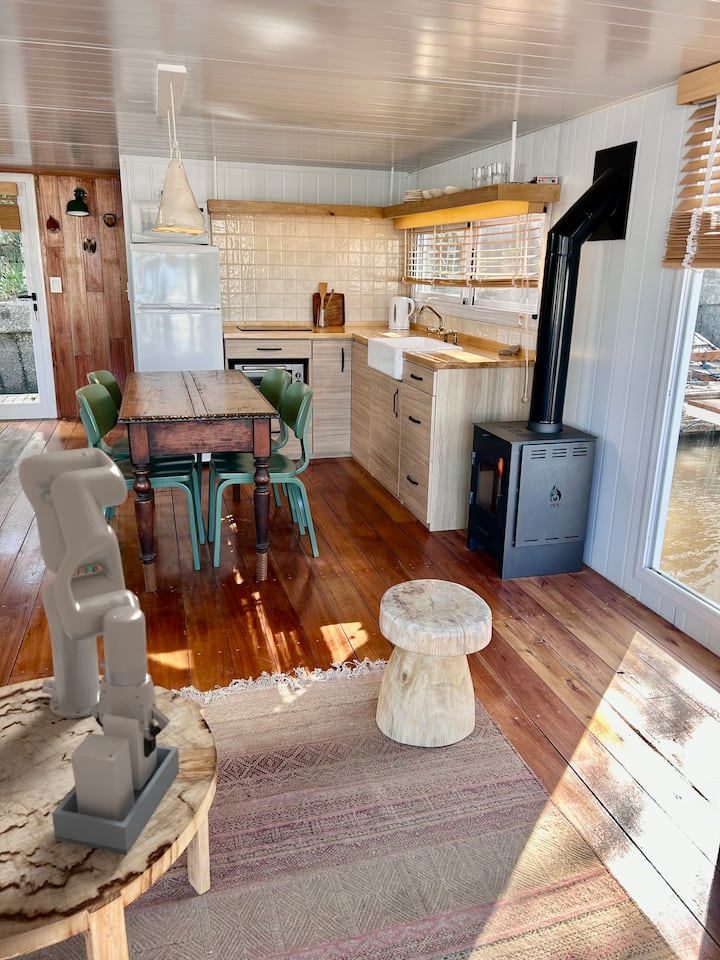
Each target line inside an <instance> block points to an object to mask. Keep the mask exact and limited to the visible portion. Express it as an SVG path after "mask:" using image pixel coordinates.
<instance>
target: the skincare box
mask: <svg viewBox="0 0 720 960" xmlns="http://www.w3.org/2000/svg"><path fill="white" fill-rule="evenodd" d="M70 757H71V763H72V771H73V780H74V786H75V788H76V795H77V803H78V811H79V814H83V815H88V816H93V817H98V818H103V819H108V820H113V821H118V822H123V821H124V820H125V818H126V817H127V815H128V814H129V812H130V811H131V809H132V808H133V806H134V805H135V802H134V792H133V781H132V771H131V761H130V750H129V740H128V739H123V738H117V737H111V736H105V735H104V734H98V733H93V732H89V733H88V735H87V736H86V737H84V740H82V742H80V744H79V745H78V746H77V747H76V749H75V750H74V751H73V752H72V753H71V756H70Z"/></svg>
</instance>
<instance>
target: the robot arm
mask: <svg viewBox="0 0 720 960" xmlns="http://www.w3.org/2000/svg"><path fill="white" fill-rule="evenodd" d="M18 477H19V482H20V487H21V488H22V491H23V493H24V495H25V497H26V499H27V500H28V502H29V503H30V506H31V507H32V510H33V512H34V514H35V515H34V516H35V519H36V526H37V531H38V532H37V534H38V538H39V543H40V549H41V554H42V559H43V562H44V566H45V569H47V570H48V571H49V572H51V573H54V574H55V579H54V581H52V582H51V583H49V584H47V586H45V588H44V590H42V595H41V598H42V604H43V609H44V612H45V616H46V619H47V623H48V628H49V635H50V643H51V644H50V645H51V655H52V656H51V657H52V665H53V677H54V679H48V678H45V679H43V682H42V689H41V693H43V694H49V695H51V698H50V700H49V703H48V704H49V709H50V711H51V713H52V714H53V715H55V716H57V717H59V718H63V719H79V718H84V717H87V716H92V717H93V718H94V719H95V720H94V721H95V722H96V723H97V725H99V726H100V727H101V731H102V732H103V716H104V714H107V715H111V716H116V717H119V716H120V717H125V718H129V719H137V720H139V722H138V723H139V727H140V732H144V735H145V737H146V738H145V739H144V756H145V757H147V758H148V757H149V756H150V754H151V753H152V752H153V751H154V750H155V748H156V744H157V736H158V735H159V734H161V732H162V731H163V730H164V729H165V728H167V726H168V725H169V723H170V721H171V720H170V718H169V717H167V716H166V715H165V714H164V713H163V712H162V711H161V710H160V709H158V707H157V706H158V705H157V704H158V703H157V698H156V697H157V696H156V691H155V686H154V682H153V679H152V675H151V674H150V673H148V659H147V657H148V654H147V652H148V651H147V632H146V616H145V614H144V612H143V611H142V610H141V606H140V601H139V599H138V596H136V595H135V594H134V592H132V591H131V590H129V589H126V583H125V582H126V581H125V577H124V572H123V571H124V570H123V566H122V559H121V558H122V557H121V552H120V547H119V541H118V537H117V536H116V533H115V531H114V529H113V528H112V526H111V525H109V524H107V523H108V522H107V519H106V516H105V514H104V513H105V512H104V510H103V509H104V508H109V507H114V506H120V505H122V504H123V503H124V502H126V500H127V496H128V487H127V483H126V479H125V477H124V474H123V472H122V471H121V470H120V468H119V466H118V465H117V464H116V463H115V462H114V461H113V459H111V458H110V457H109V455H107V453H106V452H105V451H103V450H102V449H101V448H99V447H84V448H76V449H67V450H58V451H49V452H43V453H37V454H34V455H31V456H28V457H26V458H24V459H23V460H22V461H21V462H20V464H19V468H18ZM92 567H97V568H98V570H96V571H92V572H86V573H83V574H81V573H80V574H76V575H74V573H75V571H77V570H81V569H82V570H83V569H86V568H87V569H88V568H92ZM100 636H102V639H103V653H104V661H103V660H102V661H100V663H98V661H99V660H98V647H97V645H98V644H97V637H100ZM99 669H103V670H104V675H102V677H101V681H100V674H99ZM153 719H155V723H154V721H153ZM156 722H158V724H156ZM149 728H150V730H149ZM103 733H104V732H103Z"/></svg>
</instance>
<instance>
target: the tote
mask: <svg viewBox="0 0 720 960" xmlns="http://www.w3.org/2000/svg"><path fill="white" fill-rule="evenodd" d="M156 752H157V767H156V768H155V770H154V771H153V773H152V774H151V775H150V777H149V778H148V780H147V781H146V783H145V784H144V786H143V787H142V788H141V790H136V789H133V792H134V802H135V805H134V806H133V808H132V809H131V811H130V812H129V814H128V815H127V817H126V818H125V820H124V821H123V822H118V821H113V820H108V819H103V818H98V817H93V816H88V815H83V814H79V811H78V803H77V795H76V788H75V785H74V786H73V787H71V788H72V789H70V791H69V792H68V793H67V795H66V796H64V798H63V799H62V800H61V802H60V803H59V804H58V806H57V807H56V808H55V810H53V812H52V813H51V814H52V823H53V833H54V840H55V841H58V842H63V843H67V844H72V845H73V844H74V845H79V846H82V847H88V848H91V849H92V848H94V849H96V848H97V850H103V851H106V852H111V853H117V854H123V855H128V854H129V852H130V851H131V849H132V847H133V846H134V844H135V842H136V841H137V839H138V838H139V837H140V836H141V835H140V834H141V833H142V831H144V828H145V827H146V825H147V823H148V822H149V820H150V818H151V817H152V816H153V814H154V812H155V810H156V809H157V808H158V806H159V804H160V803H161V801H162V800H163V798H164V796H165V795H166V793H167V792H168V790H169V789H170V787H171V786H172V784H173V782H174V781H175V779H176V777H177V776H178V774H179V772H180V764H179V760H180V759H179V758H180V757H179V747H176V746H171V745H165V744H159V743H156Z"/></svg>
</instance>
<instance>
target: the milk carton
mask: <svg viewBox="0 0 720 960" xmlns="http://www.w3.org/2000/svg"><path fill="white" fill-rule="evenodd" d="M153 721H154V723H155V724H156V720H155V719H153ZM138 722H139V720H137V719H129V718H125V717H120V716H119V717H116V716H111V715H107V714H104V716H103V735H105V736H111V737H117V738H123V739H128V740H129V750H130V761H131V771H132V781H133V789H136V790H141V788H142V787H143V786H144V784H145V783H146V781H147V780H148V778H149V777H150V775H151V774H152V773H153V771H154V770H155V768H156V767H157V752H156V748H155V750H154V751H153V752H152V753H151V754H150V756H149V757H148V758H147V757H145V756H144V739H145V738H146V737H145V735H144V732H140V727H139V723H138ZM149 730H150V728H149Z"/></svg>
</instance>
